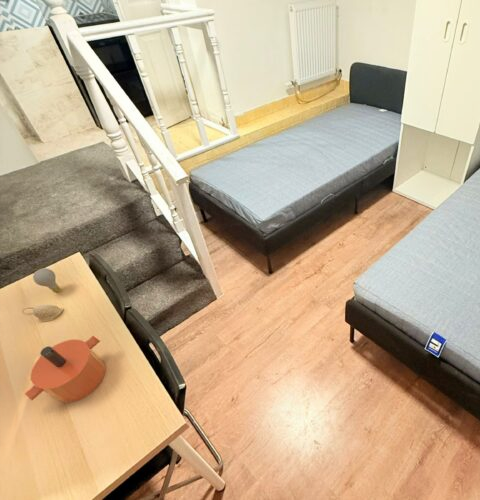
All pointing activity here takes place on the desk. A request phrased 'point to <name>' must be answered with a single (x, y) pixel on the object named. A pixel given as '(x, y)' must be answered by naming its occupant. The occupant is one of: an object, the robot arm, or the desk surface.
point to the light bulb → (46, 279)
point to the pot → (77, 380)
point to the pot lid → (60, 364)
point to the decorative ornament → (44, 312)
